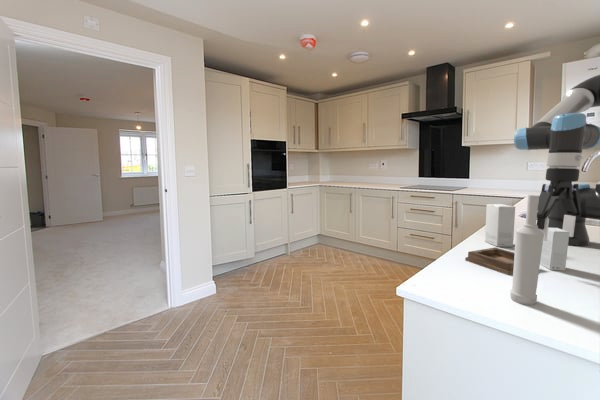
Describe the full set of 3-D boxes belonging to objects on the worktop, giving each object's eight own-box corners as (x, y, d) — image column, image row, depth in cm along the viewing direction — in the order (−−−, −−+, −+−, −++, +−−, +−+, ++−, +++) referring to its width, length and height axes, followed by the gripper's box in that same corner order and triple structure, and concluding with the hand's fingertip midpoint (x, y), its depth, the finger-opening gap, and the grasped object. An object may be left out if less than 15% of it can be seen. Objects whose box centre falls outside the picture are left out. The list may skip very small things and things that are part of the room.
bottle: (512, 293, 77) (522, 193, 74) (538, 300, 73) (549, 195, 70) (507, 300, 73) (517, 195, 70) (534, 307, 70) (546, 197, 66)
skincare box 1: (513, 247, 117) (517, 206, 115) (495, 247, 117) (499, 206, 115) (499, 241, 126) (502, 203, 124) (483, 241, 126) (486, 203, 124)
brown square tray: (493, 255, 107) (494, 246, 107) (538, 268, 95) (539, 258, 94) (465, 260, 102) (465, 251, 102) (507, 274, 89) (508, 264, 89)
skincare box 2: (565, 271, 92) (570, 231, 91) (549, 270, 93) (553, 231, 92) (553, 264, 98) (557, 227, 97) (538, 263, 99) (542, 226, 98)
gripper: (552, 167, 83) (543, 244, 86) (601, 168, 93) (592, 237, 96) (522, 167, 90) (515, 238, 93) (572, 167, 100) (564, 232, 103)
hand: (554, 237), depth 94 cm, fingers open, 13 cm apart
